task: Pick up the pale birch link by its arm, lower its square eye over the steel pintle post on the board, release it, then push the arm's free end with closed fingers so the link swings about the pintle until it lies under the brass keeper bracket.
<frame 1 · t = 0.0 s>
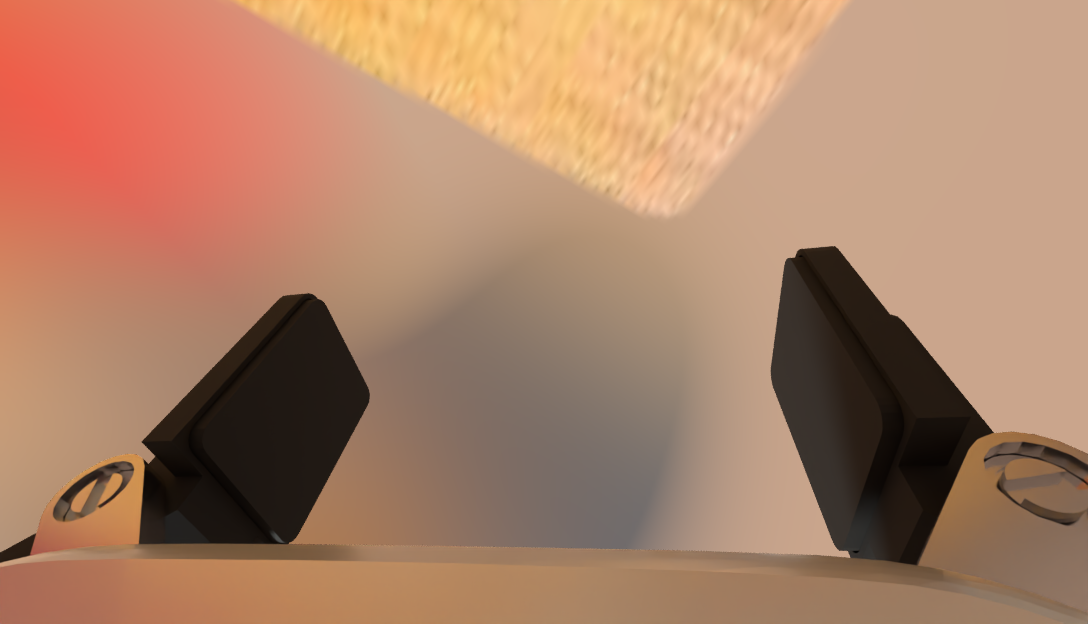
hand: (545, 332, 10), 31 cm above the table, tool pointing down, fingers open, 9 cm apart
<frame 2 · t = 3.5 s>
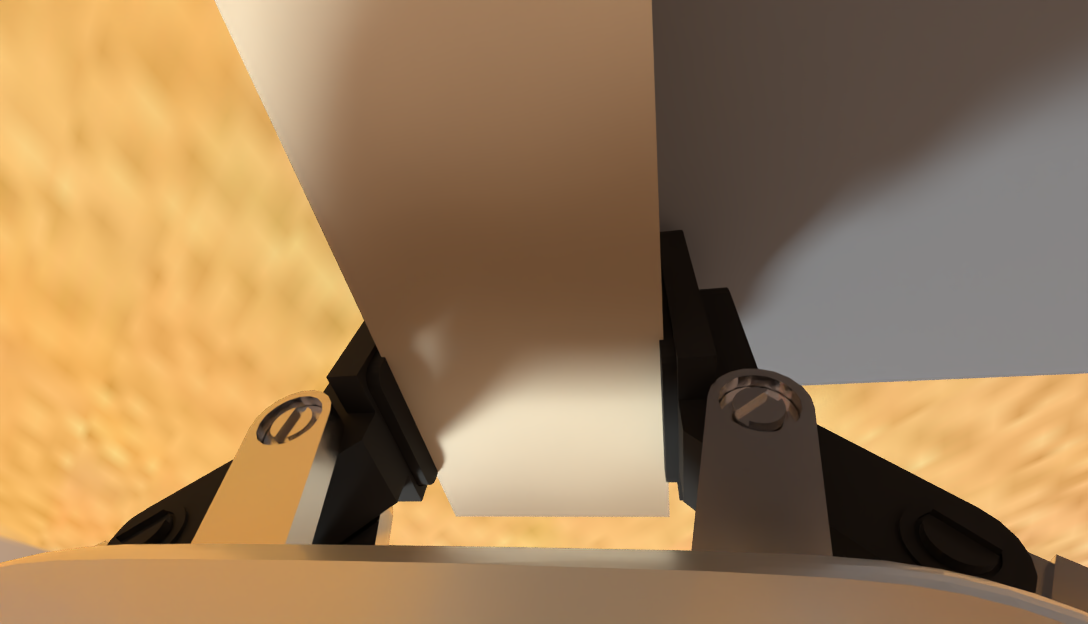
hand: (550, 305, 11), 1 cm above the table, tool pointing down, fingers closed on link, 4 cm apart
link: (569, 390, 13), point 1 cm above the table, touching board, gripper
when the fingers open (2 cm above the table, at t = 7.1 s): link moves 1 cm, resting on board.
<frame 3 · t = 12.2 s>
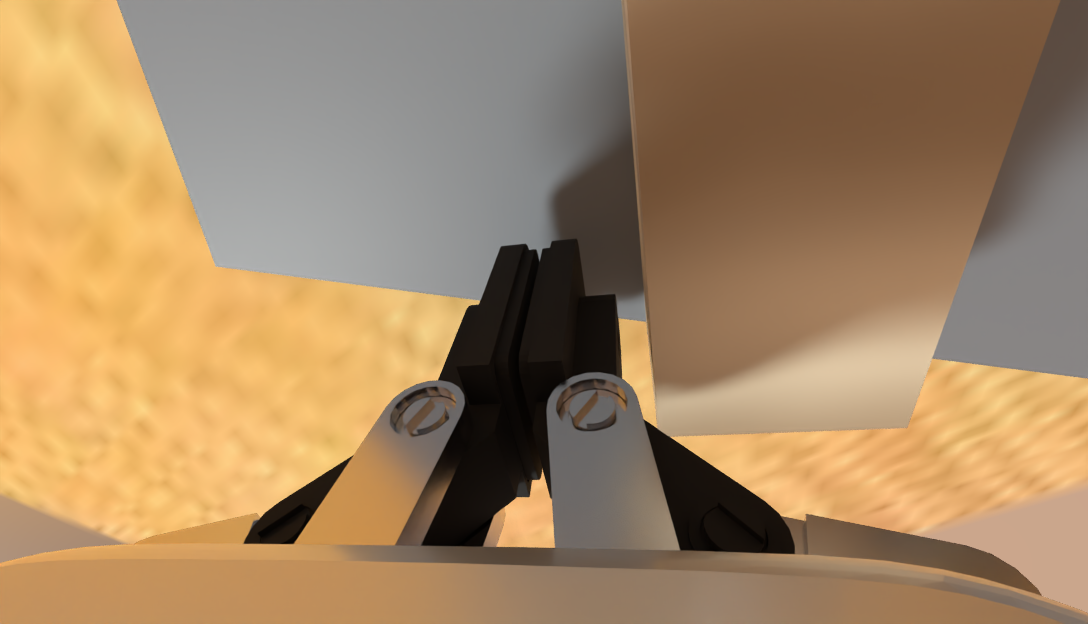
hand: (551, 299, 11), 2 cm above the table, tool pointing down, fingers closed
link: (736, 319, 12), point 1 cm above the table, touching board, gripper
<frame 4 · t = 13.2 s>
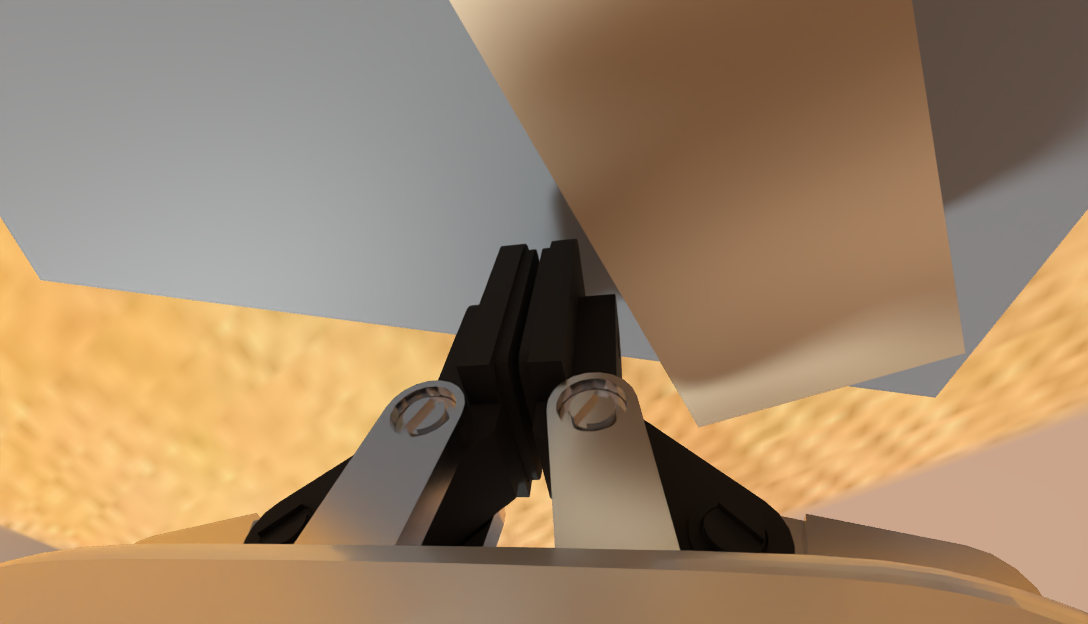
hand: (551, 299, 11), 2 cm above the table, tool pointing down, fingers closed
link: (766, 283, 12), point 1 cm above the table, touching gripper
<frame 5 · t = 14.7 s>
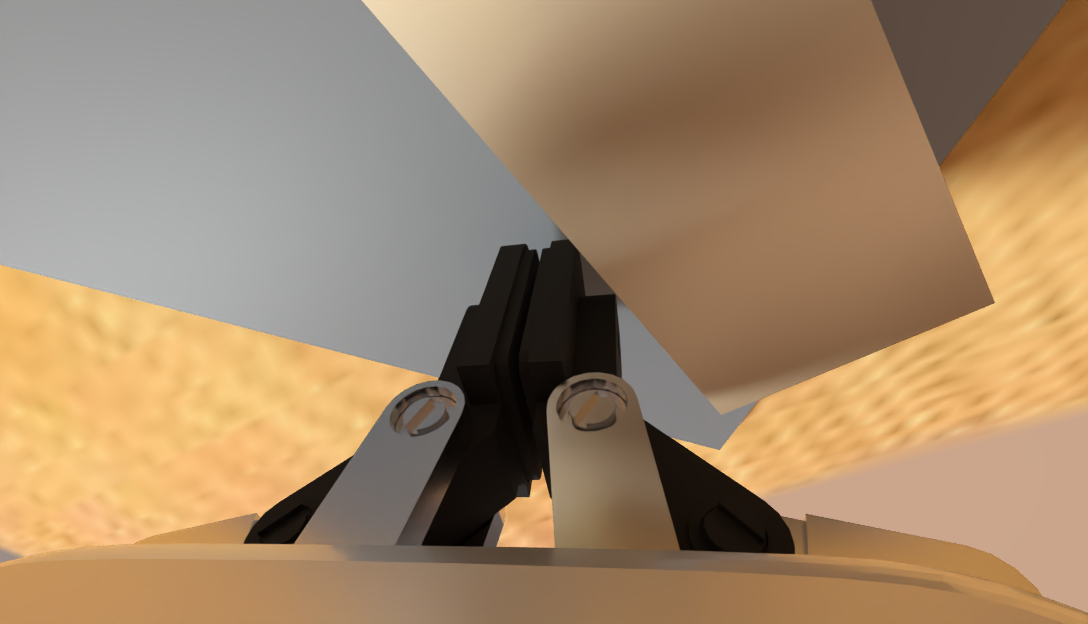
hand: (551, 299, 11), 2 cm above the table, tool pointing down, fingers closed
link: (780, 258, 11), point 1 cm above the table, touching board
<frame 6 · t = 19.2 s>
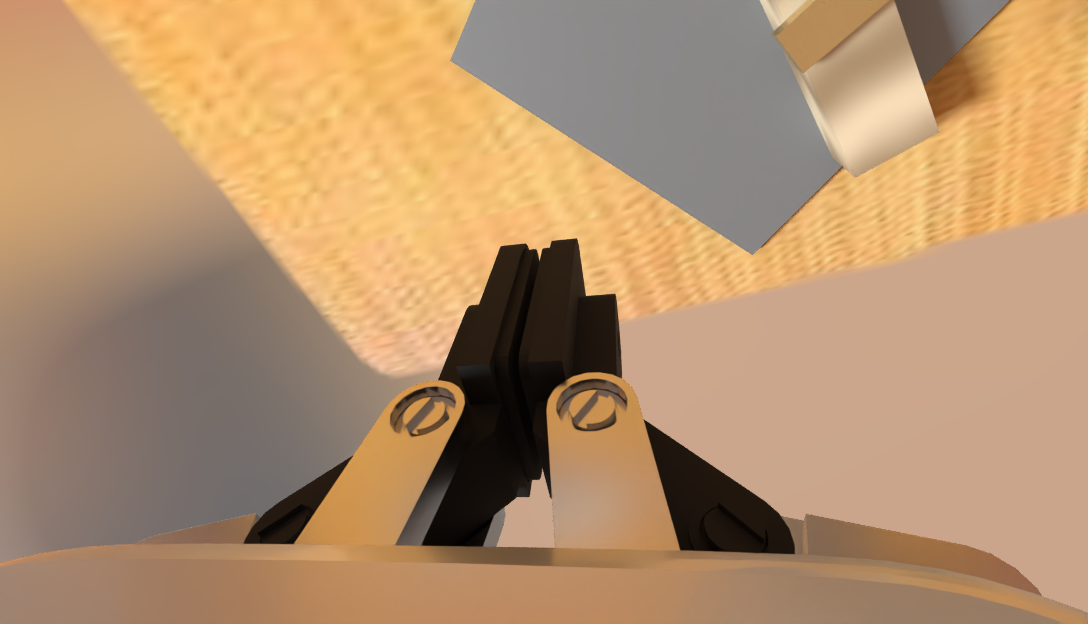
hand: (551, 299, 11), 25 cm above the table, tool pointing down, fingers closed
board: (710, 24, 29), on the table
link: (868, 137, 31), point 1 cm above the table, touching board
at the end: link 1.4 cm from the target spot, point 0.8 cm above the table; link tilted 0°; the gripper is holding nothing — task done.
